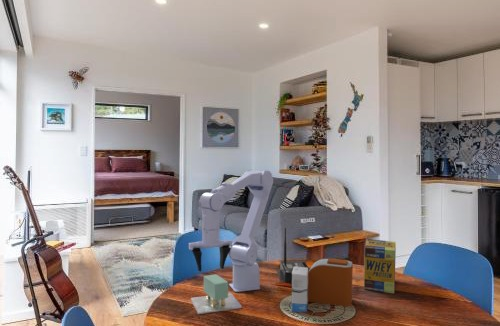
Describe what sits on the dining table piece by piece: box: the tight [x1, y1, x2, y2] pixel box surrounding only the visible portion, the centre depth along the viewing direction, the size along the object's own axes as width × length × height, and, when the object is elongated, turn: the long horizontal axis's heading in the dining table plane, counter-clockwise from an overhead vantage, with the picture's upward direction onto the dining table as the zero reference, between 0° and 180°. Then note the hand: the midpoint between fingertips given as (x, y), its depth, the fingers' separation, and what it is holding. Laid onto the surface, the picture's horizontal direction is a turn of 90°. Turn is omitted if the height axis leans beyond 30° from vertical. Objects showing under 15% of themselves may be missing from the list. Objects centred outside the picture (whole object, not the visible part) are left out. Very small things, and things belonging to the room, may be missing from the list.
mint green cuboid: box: [203, 274, 229, 300], centre depth 120 cm, size 5×9×5 cm, turn 30°
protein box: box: [363, 238, 397, 294], centre depth 139 cm, size 10×15×16 cm
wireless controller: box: [276, 227, 310, 283], centre depth 151 cm, size 20×14×17 cm
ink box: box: [291, 267, 309, 313], centre depth 118 cm, size 8×5×12 cm, turn 168°
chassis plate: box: [190, 292, 243, 315], centre depth 120 cm, size 14×12×1 cm
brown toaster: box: [308, 258, 353, 308], centre depth 124 cm, size 15×8×14 cm, turn 71°
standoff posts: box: [206, 294, 225, 307], centre depth 120 cm, size 4×8×2 cm, turn 20°
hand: (210, 269), depth 123 cm, fingers open, 7 cm apart
